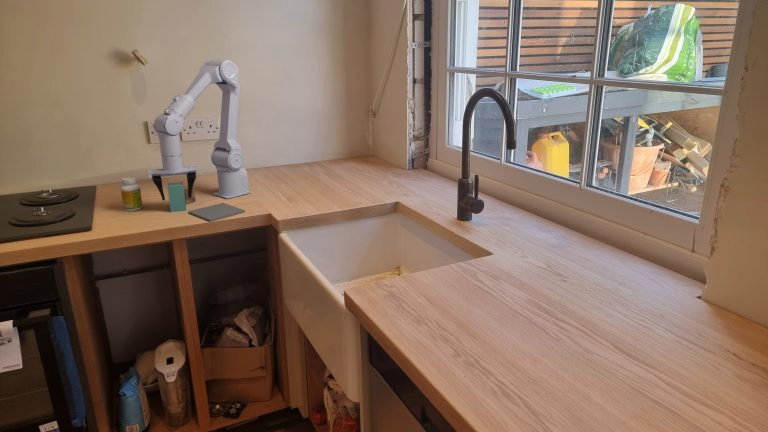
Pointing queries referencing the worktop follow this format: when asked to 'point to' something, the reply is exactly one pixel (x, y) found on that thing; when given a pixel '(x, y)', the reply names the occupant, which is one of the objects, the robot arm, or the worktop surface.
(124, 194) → the supplement bottle
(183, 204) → the teal block
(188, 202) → the walnut block
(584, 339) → the worktop surface
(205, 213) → the slate mat
